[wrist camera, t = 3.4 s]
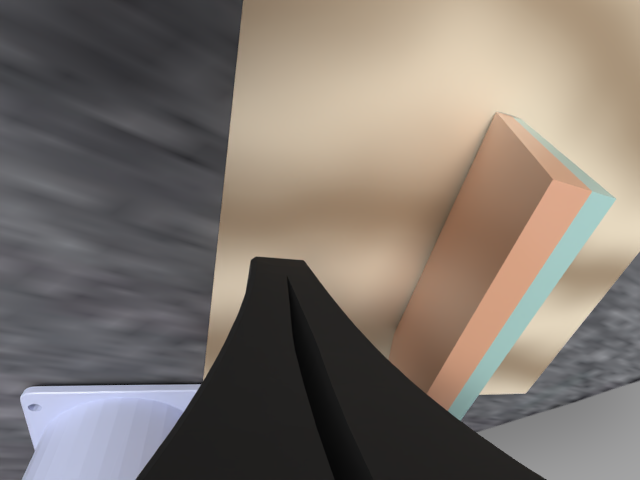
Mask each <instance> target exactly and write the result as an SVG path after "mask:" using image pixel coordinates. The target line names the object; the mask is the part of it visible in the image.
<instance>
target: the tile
mask: <svg viewBox="0 0 640 480" xmlns="http://www.w3.org/2000/svg"><path fill="white" fill-rule="evenodd" d="M615 200H616V198H615V197H614V196H612V195H611V194H610V193H609V192H608V191H606V190H605V189H604V188H603V187H602V186H600V185H599V184H598V183H597V182H596V181H594V180H593V179H592V178H591V177H590V176H589V175H587V174H586V173H585V172H584V171H583V170H581V169H580V168H579V167H578V166H577V165H575V164H574V163H573V162H572V161H571V160H570V159H568V158H567V157H566V156H565V155H564V154H562V153H561V152H560V151H559V150H558V149H556V148H555V147H554V146H553V145H552V144H550V143H549V142H548V141H547V140H546V139H545V138H543V137H542V136H541V135H540V134H539V133H537V132H536V131H535V130H534V129H533V128H531V127H530V126H529V125H528V124H527V123H526V122H524V121H523V120H522V119H520V118H518V117H515V116H512V115H509V114H506V113H502V112H496V113H495V115H494V117H493V119H492V122H491V124H490V126H489V128H488V130H487V132H486V135H485V137H484V139H483V141H482V143H481V145H480V148H479V150H478V152H477V154H476V156H475V159H474V161H473V163H472V165H471V167H470V169H469V172H468V174H467V176H466V178H465V180H464V182H463V185H462V187H461V189H460V191H459V193H458V196H457V198H456V200H455V202H454V204H453V206H452V209H451V211H450V213H449V215H448V217H447V219H446V222H445V224H444V226H443V228H442V230H441V233H440V235H439V237H438V239H437V241H436V243H435V246H434V248H433V250H432V252H431V254H430V256H429V259H428V261H427V263H426V265H425V267H424V269H423V272H422V274H421V276H420V278H419V280H418V283H417V285H416V287H415V289H414V291H413V293H412V296H411V298H410V300H409V302H408V304H407V306H406V309H405V311H404V313H403V315H402V317H401V320H400V322H399V324H398V326H397V328H396V330H395V333H394V337H393V341H392V345H391V350H390V354H389V359H388V360H389V361H390V362H391V363H392V364H393V365H394V366H396V367H397V368H398V369H399V370H400V371H401V372H402V373H403V374H404V375H405V376H406V377H407V378H408V379H410V380H411V381H412V382H413V383H414V384H415V385H416V386H418V387H419V388H420V389H421V390H422V391H423V392H425V393H426V394H427V395H428V396H430V397H431V398H432V399H433V400H435V401H436V402H437V403H438V404H440V405H441V406H442V407H443V408H445V409H446V410H447V411H448V412H450V413H451V414H452V415H453V416H455V417H456V418H457V419H458V420H460V421H461V419H462V418H463V416H464V415H465V414H466V412H467V411H468V409H469V408H470V407H471V405H472V404H473V402H474V401H475V399H476V398H477V397H478V395H479V394H480V392H481V391H482V389H483V388H484V387H485V385H486V384H487V382H488V381H489V380H490V378H491V377H492V375H493V374H494V372H495V371H496V370H497V368H498V367H499V365H500V364H501V362H502V361H503V360H504V358H505V357H506V355H507V354H508V353H509V351H510V350H511V348H512V347H513V345H514V344H515V343H516V341H517V340H518V338H519V337H520V335H521V334H522V333H523V331H524V330H525V328H526V327H527V325H528V324H529V323H530V321H531V320H532V318H533V317H534V316H535V314H536V313H537V311H538V310H539V308H540V307H541V306H542V304H543V303H544V301H545V300H546V298H547V297H548V296H549V294H550V293H551V291H552V290H553V289H554V287H555V286H556V284H557V283H558V281H559V280H560V279H561V277H562V276H563V274H564V273H565V271H566V270H567V269H568V267H569V266H570V264H571V263H572V261H573V260H574V259H575V257H576V256H577V254H578V253H579V252H580V250H581V249H582V247H583V246H584V244H585V243H586V242H587V240H588V239H589V237H590V236H591V234H592V233H593V232H594V230H595V229H596V227H597V226H598V225H599V223H600V222H601V220H602V219H603V217H604V216H605V215H606V213H607V212H608V210H609V209H610V207H611V206H612V205H613V203H614V202H615Z"/></svg>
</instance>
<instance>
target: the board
mask: <svg viewBox="0 0 640 480" xmlns="http://www.w3.org/2000/svg"><path fill="white" fill-rule="evenodd" d="M496 112H502V113H506V114H509V115H512V116H515V117H518V118H520V119H522V120H523V121H524V122H526V123H527V124H528V125H529V126H530V127H531V128H533V129H534V130H535V131H536V132H537V133H539V134H540V135H541V136H542V137H543V138H545V139H546V140H547V141H548V142H549V143H550V144H552V145H553V146H554V147H555V148H556V149H558V150H559V151H560V152H561V153H562V154H564V155H565V156H566V157H567V158H568V159H570V160H571V161H572V162H573V163H574V164H575V165H577V166H578V167H579V168H580V169H581V170H583V171H584V172H585V173H586V174H587V175H589V176H590V177H591V178H592V179H593V180H594V181H596V182H597V183H598V184H599V185H600V186H602V187H603V188H604V189H605V190H606V191H608V192H609V193H610V194H611V195H612V196H614V197H615V198H616V200H615V202H614V203H613V205H612V206H611V207H610V209H609V210H608V212H607V213H606V215H605V216H604V217H603V219H602V220H601V222H600V223H599V225H598V226H597V227H596V229H595V230H594V232H593V233H592V234H591V236H590V237H589V239H588V240H587V242H586V243H585V244H584V246H583V247H582V249H581V250H580V252H579V253H578V254H577V256H576V257H575V259H574V260H573V261H572V263H571V264H570V266H569V267H568V269H567V270H566V271H565V273H564V274H563V276H562V277H561V279H560V280H559V281H558V283H557V284H556V286H555V287H554V289H553V290H552V291H551V293H550V294H549V296H548V297H547V298H546V300H545V301H544V303H543V304H542V306H541V307H540V308H539V310H538V311H537V313H536V314H535V316H534V317H533V318H532V320H531V321H530V323H529V324H528V325H527V327H526V328H525V330H524V331H523V333H522V334H521V335H520V337H519V338H518V340H517V341H516V343H515V344H514V345H513V347H512V348H511V350H510V351H509V353H508V354H507V355H506V357H505V358H504V360H503V361H502V362H501V364H500V365H499V367H498V368H497V370H496V371H495V372H494V374H493V375H492V377H491V378H490V380H489V381H488V382H487V384H486V385H485V387H484V388H483V389H482V391H481V392H480V394H479V395H487V394H526V392H527V391H528V390H529V389H530V387H531V386H532V385H533V384H534V382H535V381H536V380H537V379H538V377H539V376H540V375H541V374H542V372H543V371H544V370H545V369H546V367H547V366H548V365H549V364H550V362H551V361H552V360H553V359H554V357H555V356H556V355H557V354H558V352H559V351H560V350H561V349H562V347H563V346H564V345H565V344H566V343H567V341H568V340H569V339H570V338H571V336H572V335H573V334H574V333H575V331H576V330H577V329H578V328H579V326H580V325H581V324H582V323H583V321H584V320H585V319H586V318H587V316H588V315H589V314H590V313H591V311H592V310H593V309H594V308H595V306H596V305H597V304H598V303H599V301H600V300H601V299H602V298H603V296H604V295H605V294H606V293H607V291H608V290H609V289H610V288H611V286H612V285H613V284H614V283H615V281H616V280H617V279H618V278H619V276H620V275H621V274H622V273H623V271H624V270H625V269H626V268H627V266H628V265H629V264H630V263H631V261H632V260H633V259H634V258H635V256H636V255H637V254H638V253H639V251H640V0H243V6H242V15H241V25H240V34H239V44H238V53H237V63H236V72H235V82H234V91H233V101H232V110H231V120H230V129H229V139H228V148H227V158H226V167H225V177H224V186H223V196H222V205H221V215H220V224H219V234H218V243H217V253H216V262H215V272H214V281H213V291H212V300H211V310H210V319H209V329H208V338H207V348H206V357H205V367H204V376H203V381H204V379H205V377H206V375H207V374H208V372H209V370H210V368H211V367H212V365H213V363H214V361H215V360H216V358H217V356H218V354H219V352H220V350H221V348H222V346H223V345H224V343H225V341H226V338H227V336H228V334H229V332H230V330H231V328H232V326H233V323H234V321H235V319H236V317H237V315H238V312H239V310H240V307H241V304H242V301H243V299H244V296H245V293H246V287H247V280H248V274H249V267H250V261H251V259H253V258H254V257H256V256H257V257H270V258H283V259H295V260H304V261H305V262H306V264H307V265H308V266H309V268H310V269H311V270H312V272H313V273H314V274H315V276H316V277H317V278H318V280H319V281H320V282H321V284H322V285H323V286H324V288H325V289H326V290H327V291H328V293H329V294H330V295H331V297H332V298H333V299H334V300H335V302H336V303H337V304H338V305H339V307H340V308H341V309H342V310H343V311H344V313H345V314H346V315H347V316H348V318H349V319H350V320H351V321H352V322H353V323H354V324H355V326H356V327H357V328H358V329H359V330H360V331H361V332H362V333H363V334H364V335H365V336H366V338H367V339H368V340H369V341H370V342H371V343H372V344H373V345H374V346H375V347H376V348H377V349H378V350H379V351H380V352H381V353H382V354H383V355H384V356H385V357H386V358H387V359H389V354H390V350H391V345H392V341H393V337H394V333H395V330H396V328H397V326H398V324H399V322H400V320H401V317H402V315H403V313H404V311H405V309H406V306H407V304H408V302H409V300H410V298H411V296H412V293H413V291H414V289H415V287H416V285H417V283H418V280H419V278H420V276H421V274H422V272H423V269H424V267H425V265H426V263H427V261H428V259H429V256H430V254H431V252H432V250H433V248H434V246H435V243H436V241H437V239H438V237H439V235H440V233H441V230H442V228H443V226H444V224H445V222H446V219H447V217H448V215H449V213H450V211H451V209H452V206H453V204H454V202H455V200H456V198H457V196H458V193H459V191H460V189H461V187H462V185H463V182H464V180H465V178H466V176H467V174H468V172H469V169H470V167H471V165H472V163H473V161H474V159H475V156H476V154H477V152H478V150H479V148H480V145H481V143H482V141H483V139H484V137H485V135H486V132H487V130H488V128H489V126H490V124H491V122H492V119H493V117H494V115H495V113H496Z"/></svg>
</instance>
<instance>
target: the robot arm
mask: <svg viewBox="0 0 640 480" xmlns="http://www.w3.org/2000/svg"><path fill="white" fill-rule="evenodd" d="M20 401H21V405H22V408H23V412H24V415H25V419H26V422H27V425H28V429H29V432H30V436H31V439H32V443H33V446H34V450H35V452H34V454H33V457H32V459H31V461H30V463H29V465H28V467H27V470H26V472H25V474H24V476H23V478H22V480H546V479H544V478H543V477H541V476H540V475H538V474H536V473H535V472H533V471H532V470H530V469H528V468H527V467H525V466H524V465H522V464H521V463H519V462H518V461H516V460H515V459H513V458H512V457H510V456H509V455H507V454H506V453H504V452H503V451H501V450H500V449H499V448H497V447H496V446H494V445H493V444H492V443H490V442H489V441H487V440H486V439H484V438H483V437H481V436H480V435H478V434H477V433H476V432H475V431H473V430H472V429H471V428H469V427H468V426H467V425H465V424H464V423H463V422H461V421H460V420H458V419H457V418H456V417H455V416H453V415H452V414H451V413H450V412H448V411H447V410H446V409H445V408H443V407H442V406H441V405H440V404H438V403H437V402H436V401H435V400H433V399H432V398H431V397H430V396H428V395H427V394H426V393H425V392H423V391H422V390H421V389H420V388H419V387H418V386H416V385H415V384H414V383H413V382H412V381H411V380H410V379H408V378H407V377H406V376H405V375H404V374H403V373H402V372H401V371H400V370H399V369H398V368H397V367H396V366H394V365H393V364H392V363H391V362H390V361H389V360H388V359H387V358H386V357H385V356H384V355H383V354H382V353H381V352H380V351H379V350H378V349H377V348H376V347H375V346H374V345H373V344H372V343H371V342H370V341H369V340H368V339H367V338H366V336H365V335H364V334H363V333H362V332H361V331H360V330H359V329H358V328H357V327H356V326H355V324H354V323H353V322H352V321H351V320H350V319H349V318H348V316H347V315H346V314H345V313H344V311H343V310H342V309H341V308H340V307H339V305H338V304H337V303H336V302H335V300H334V299H333V298H332V297H331V295H330V294H329V293H328V291H327V290H326V289H325V288H324V286H323V285H322V284H321V282H320V281H319V280H318V278H317V277H316V276H315V274H314V273H313V272H312V270H311V269H310V268H309V266H308V265H307V264H306V262H305V261H304V260H295V259H283V258H270V257H257V256H256V257H254V258H253V259H251V261H250V267H249V274H248V280H247V287H246V293H245V296H244V299H243V301H242V304H241V307H240V310H239V312H238V315H237V317H236V319H235V321H234V323H233V326H232V328H231V330H230V332H229V334H228V336H227V338H226V341H225V343H224V345H223V346H222V348H221V350H220V352H219V354H218V356H217V358H216V360H215V361H214V363H213V365H212V367H211V368H210V370H209V372H208V374H207V375H206V377H205V379H204V381H203V382H202V384H170V385H90V386H33V387H29V388H27V389H25V390H24V392H23V393H22V395H21V397H20Z"/></svg>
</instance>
